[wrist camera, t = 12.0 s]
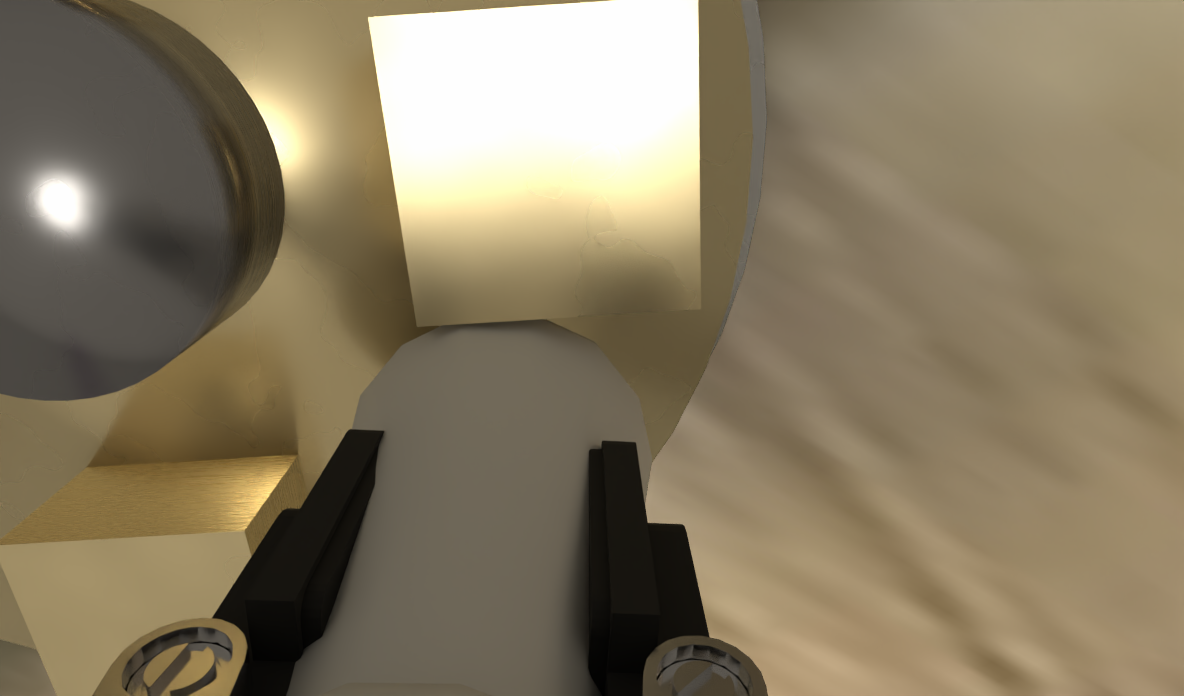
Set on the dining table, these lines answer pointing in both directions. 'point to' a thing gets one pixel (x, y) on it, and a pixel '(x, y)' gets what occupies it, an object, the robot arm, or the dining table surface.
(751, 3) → the round white base
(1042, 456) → the dining table surface
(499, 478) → the salt shaker
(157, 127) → the round wooden platform
